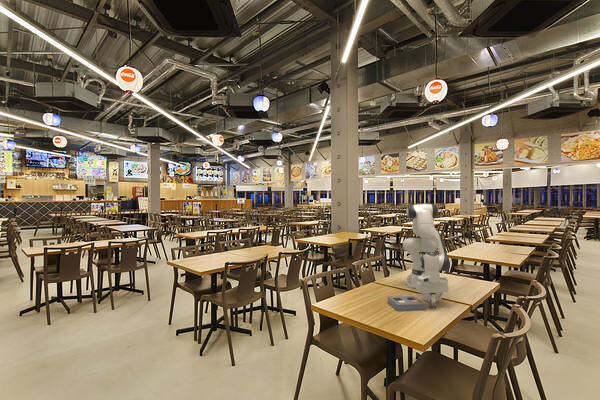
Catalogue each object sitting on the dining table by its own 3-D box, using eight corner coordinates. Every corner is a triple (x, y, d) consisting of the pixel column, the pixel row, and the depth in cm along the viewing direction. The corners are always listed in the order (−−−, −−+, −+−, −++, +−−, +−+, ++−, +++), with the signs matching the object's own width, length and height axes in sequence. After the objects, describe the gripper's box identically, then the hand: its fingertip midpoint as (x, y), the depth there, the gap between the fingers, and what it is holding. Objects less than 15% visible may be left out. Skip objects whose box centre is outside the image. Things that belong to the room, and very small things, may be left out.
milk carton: (430, 302, 194) (429, 274, 194) (422, 299, 201) (422, 271, 201) (438, 301, 196) (438, 273, 196) (431, 298, 203) (430, 271, 203)
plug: (428, 306, 186) (428, 291, 187) (433, 306, 187) (433, 290, 187) (431, 308, 183) (431, 292, 183) (436, 308, 183) (436, 292, 183)
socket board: (387, 302, 194) (387, 296, 195) (413, 301, 196) (413, 295, 196) (397, 311, 179) (397, 304, 179) (425, 310, 180) (425, 303, 180)
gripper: (444, 276, 189) (445, 297, 189) (414, 277, 187) (415, 298, 187) (450, 278, 183) (450, 300, 182) (419, 279, 181) (420, 301, 181)
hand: (432, 299), depth 185 cm, fingers open, 8 cm apart
